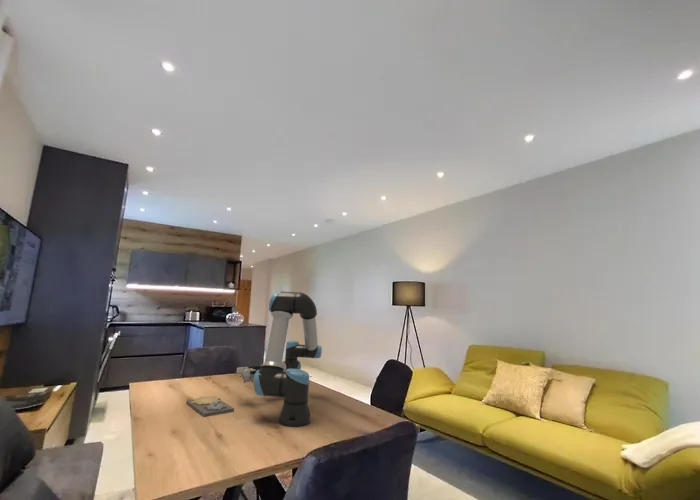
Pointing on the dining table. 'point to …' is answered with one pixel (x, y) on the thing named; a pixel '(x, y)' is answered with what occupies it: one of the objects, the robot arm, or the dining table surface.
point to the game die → (248, 376)
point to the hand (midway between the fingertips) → (240, 371)
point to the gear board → (209, 406)
